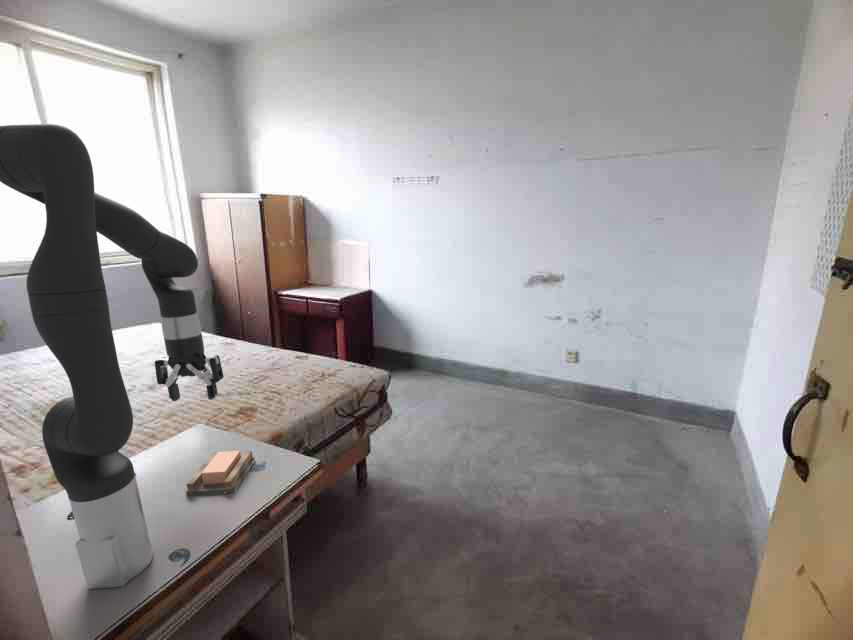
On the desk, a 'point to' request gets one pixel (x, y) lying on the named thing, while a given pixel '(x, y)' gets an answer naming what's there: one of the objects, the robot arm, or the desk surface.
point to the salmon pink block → (220, 467)
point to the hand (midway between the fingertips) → (194, 399)
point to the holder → (229, 485)
